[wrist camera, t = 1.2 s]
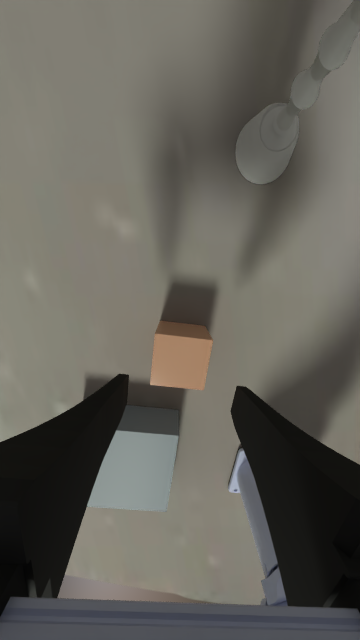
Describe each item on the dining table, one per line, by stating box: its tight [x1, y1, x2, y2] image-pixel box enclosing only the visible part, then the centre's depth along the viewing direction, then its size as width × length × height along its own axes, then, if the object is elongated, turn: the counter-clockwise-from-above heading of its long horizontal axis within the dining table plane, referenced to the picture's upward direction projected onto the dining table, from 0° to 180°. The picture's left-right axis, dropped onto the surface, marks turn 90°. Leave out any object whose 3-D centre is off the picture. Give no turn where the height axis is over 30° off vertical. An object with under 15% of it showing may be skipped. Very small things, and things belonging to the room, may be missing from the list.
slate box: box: [87, 405, 179, 512], centre depth 21 cm, size 12×12×4 cm
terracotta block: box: [150, 321, 213, 390], centre depth 17 cm, size 5×5×4 cm
